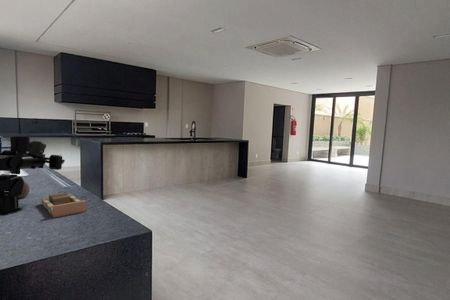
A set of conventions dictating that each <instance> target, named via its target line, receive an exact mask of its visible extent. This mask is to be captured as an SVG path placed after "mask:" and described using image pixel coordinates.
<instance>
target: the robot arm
mask: <svg viewBox="0 0 450 300" xmlns="http://www.w3.org/2000/svg"><path fill="white" fill-rule="evenodd" d="M9 139H10V141H9V142H10V149H9V150H8V149H4V150H3V151H1V152H0V171H1V172H7V171H8V172H10V173H9V174H7V173H6V174H5V173H1V174H0V215H9V214H13V213H15V212H18V211H21V210H22V209H23V208H22V207H20V205H19V199H18V197H17V196H19V195H21V194H22V190H23V186H24V181H25V180H24V178H23V177H22V176H19V175H20V174H21V170H26V169H30V170H36V169H43V168H44V167H45V164H48V168H49V170H56V171H57V170H59V171H60V170H62V168H63V164H64V163H65V161H66V160H65V159H64V158H63V156H62V155H61V154H51V155H50V156H49V157H48V156H47V157H46V154H44V153H45V150H46V148H47V144H46V143H45V142H44V143H43V141H37V140H33V141H31V136H15V135H14V136H10V138H9ZM22 178H23V179H22ZM23 180H24V181H23Z"/></svg>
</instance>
